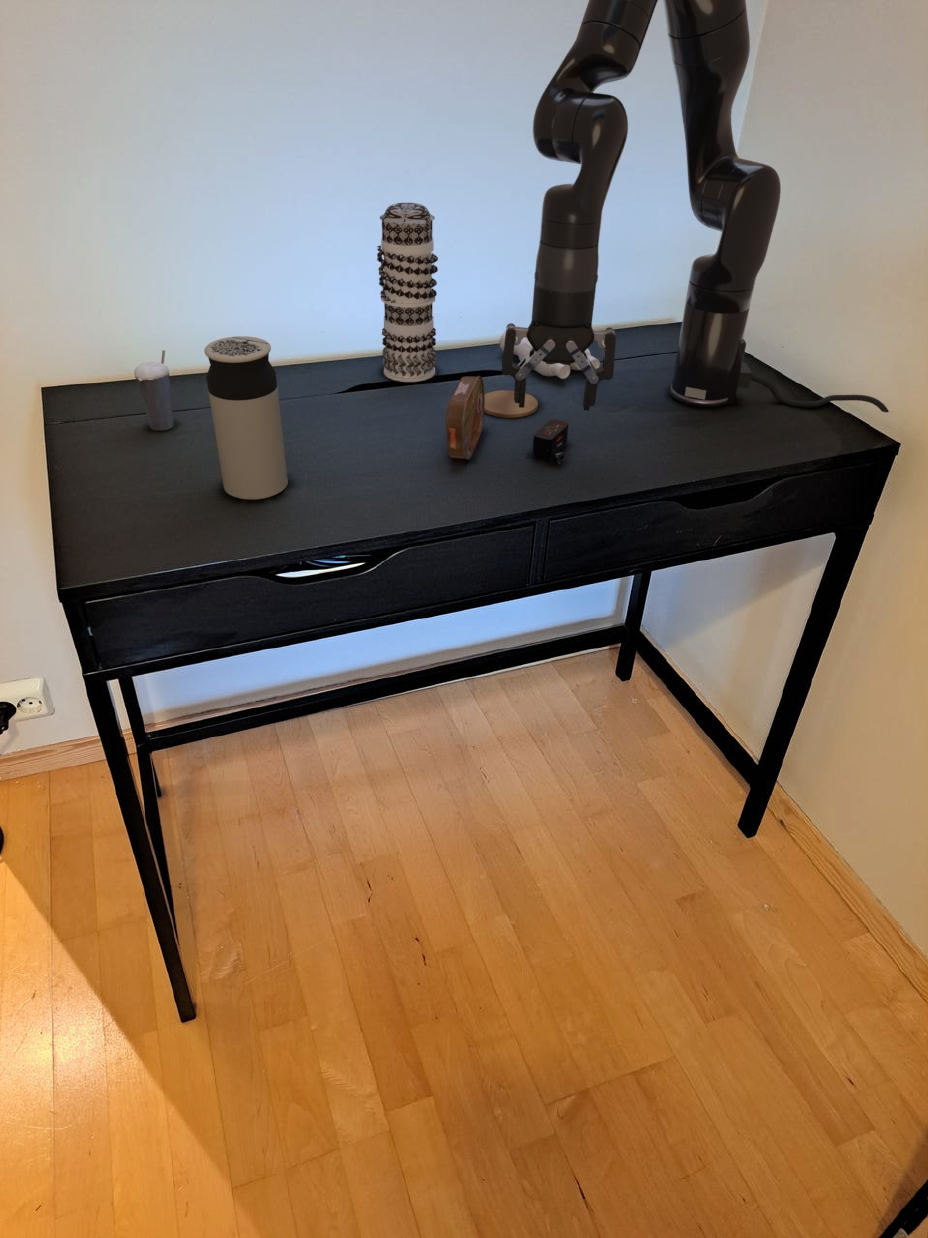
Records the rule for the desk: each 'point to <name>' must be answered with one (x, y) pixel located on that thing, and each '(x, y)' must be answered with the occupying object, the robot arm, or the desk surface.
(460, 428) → the tin
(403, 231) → the decorative candle
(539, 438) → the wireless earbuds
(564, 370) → the binoculars
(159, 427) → the milkshake
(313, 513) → the desk surface
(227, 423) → the travel mug
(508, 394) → the cork coaster
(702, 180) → the robot arm
